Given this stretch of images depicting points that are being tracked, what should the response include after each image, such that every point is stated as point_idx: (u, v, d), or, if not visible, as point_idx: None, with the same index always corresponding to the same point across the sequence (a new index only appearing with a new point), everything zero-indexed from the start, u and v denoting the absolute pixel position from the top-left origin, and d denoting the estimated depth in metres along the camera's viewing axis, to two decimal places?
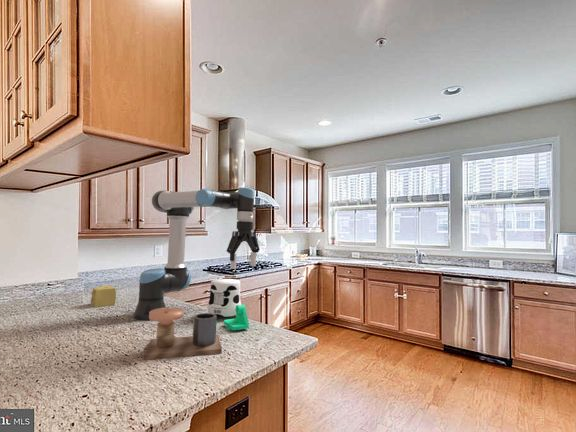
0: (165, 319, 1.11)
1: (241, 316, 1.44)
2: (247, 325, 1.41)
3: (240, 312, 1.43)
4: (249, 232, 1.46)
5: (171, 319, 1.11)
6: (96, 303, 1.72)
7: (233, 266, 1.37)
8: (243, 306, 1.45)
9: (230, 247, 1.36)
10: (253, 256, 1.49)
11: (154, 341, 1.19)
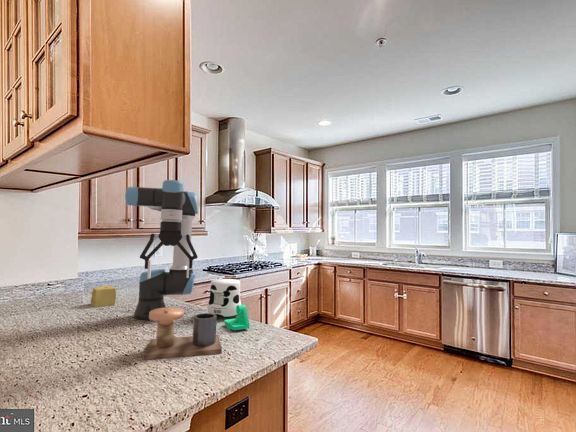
0: (165, 319, 1.11)
1: (242, 315, 1.45)
2: (248, 325, 1.41)
3: (241, 312, 1.43)
4: (176, 235, 1.17)
5: (171, 319, 1.11)
6: (96, 303, 1.72)
7: None
8: (244, 306, 1.45)
9: (142, 252, 1.14)
10: (187, 265, 1.18)
11: (154, 341, 1.19)
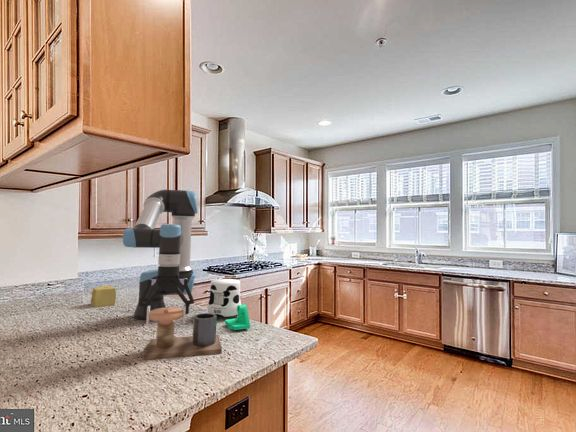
0: (165, 319, 1.11)
1: (242, 315, 1.45)
2: (248, 325, 1.41)
3: (241, 312, 1.44)
4: (174, 279, 1.16)
5: (171, 319, 1.11)
6: (96, 303, 1.72)
7: None
8: (244, 306, 1.45)
9: (140, 299, 1.14)
10: (183, 310, 1.18)
11: (154, 341, 1.19)
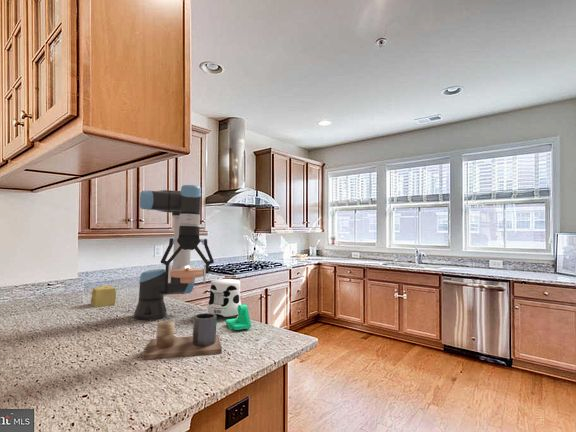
0: (186, 276, 1.13)
1: (243, 315, 1.45)
2: (249, 325, 1.41)
3: (242, 312, 1.44)
4: (194, 239, 1.19)
5: (192, 276, 1.14)
6: (96, 303, 1.72)
7: (168, 280, 1.16)
8: (245, 306, 1.45)
9: None
10: None
11: (154, 341, 1.19)
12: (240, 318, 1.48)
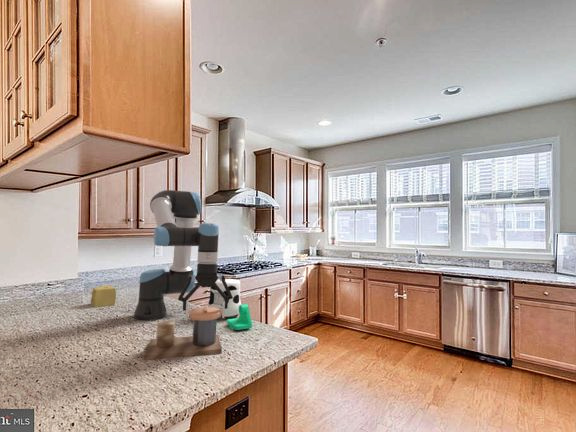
0: (206, 318, 1.15)
1: (244, 315, 1.45)
2: (250, 325, 1.41)
3: (243, 312, 1.44)
4: (212, 276, 1.21)
5: (211, 318, 1.15)
6: (96, 303, 1.72)
7: None
8: (246, 306, 1.46)
9: (180, 294, 1.18)
10: (222, 305, 1.22)
11: (154, 341, 1.19)
12: (241, 318, 1.48)
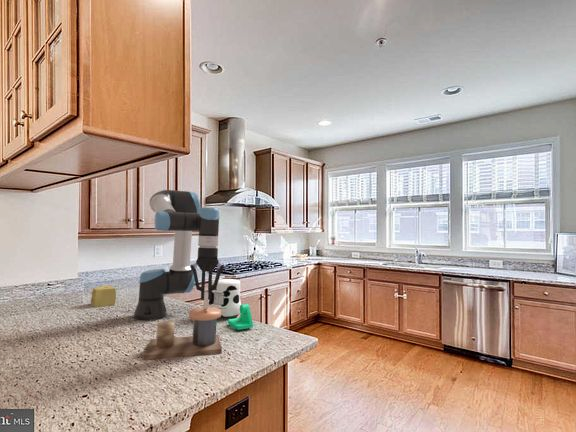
0: (206, 318, 1.15)
1: (245, 315, 1.45)
2: (251, 324, 1.42)
3: (244, 311, 1.44)
4: (215, 259, 1.21)
5: (211, 318, 1.15)
6: (96, 303, 1.72)
7: None
8: (247, 306, 1.46)
9: None
10: None
11: (154, 341, 1.19)
12: (242, 318, 1.48)
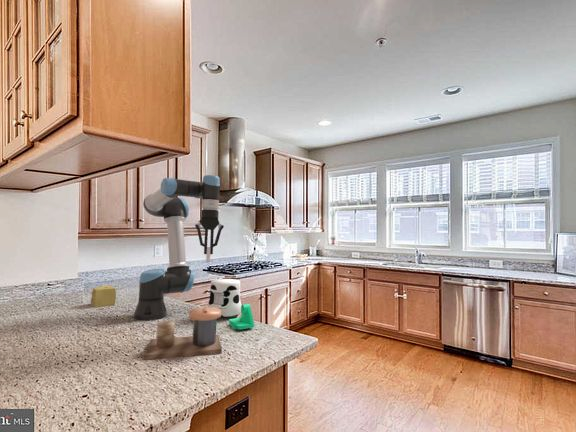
0: (206, 318, 1.15)
1: (246, 315, 1.46)
2: (252, 324, 1.42)
3: (245, 311, 1.45)
4: (216, 220, 1.41)
5: (211, 318, 1.15)
6: (96, 303, 1.72)
7: (206, 259, 1.40)
8: (248, 305, 1.46)
9: None
10: None
11: (154, 341, 1.19)
12: (243, 318, 1.49)
